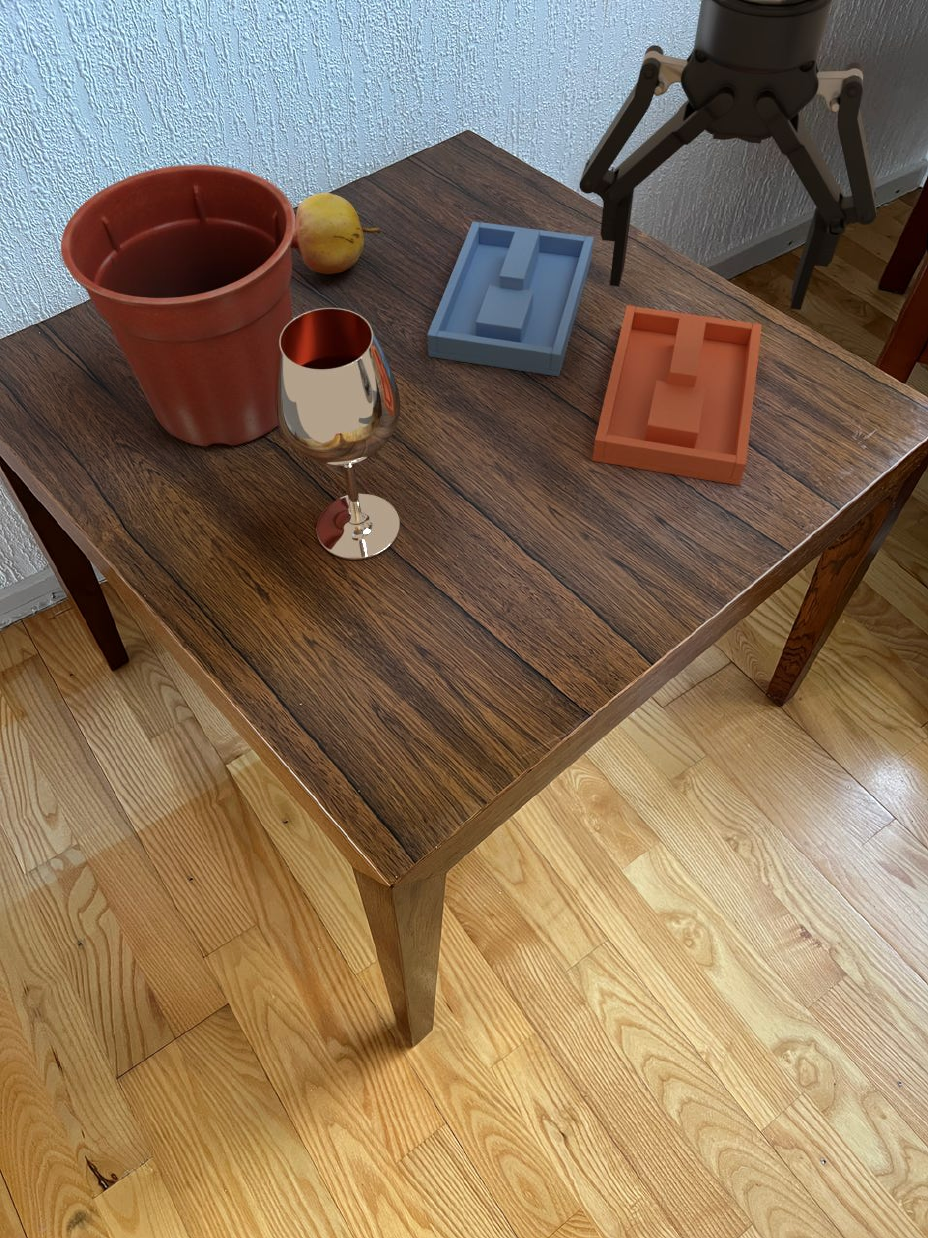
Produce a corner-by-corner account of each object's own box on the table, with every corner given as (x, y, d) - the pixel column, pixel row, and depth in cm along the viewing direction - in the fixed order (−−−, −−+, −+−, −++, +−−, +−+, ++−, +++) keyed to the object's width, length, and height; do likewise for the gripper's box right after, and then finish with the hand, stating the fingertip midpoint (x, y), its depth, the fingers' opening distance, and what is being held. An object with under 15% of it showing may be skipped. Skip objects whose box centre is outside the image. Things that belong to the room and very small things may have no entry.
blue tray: (591, 259, 91) (594, 236, 89) (558, 376, 82) (560, 354, 80) (472, 243, 93) (472, 220, 91) (428, 356, 84) (426, 334, 82)
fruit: (371, 176, 89) (263, 190, 88) (382, 200, 84) (268, 215, 83) (379, 249, 94) (277, 264, 93) (391, 276, 89) (283, 292, 87)
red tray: (755, 346, 84) (762, 323, 82) (739, 485, 75) (746, 464, 73) (623, 326, 85) (626, 304, 83) (592, 461, 77) (595, 439, 75)
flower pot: (330, 330, 86) (302, 158, 73) (320, 466, 77) (286, 298, 63) (146, 336, 86) (84, 166, 73) (115, 473, 77) (37, 306, 63)
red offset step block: (663, 343, 83) (669, 312, 81) (710, 349, 83) (717, 319, 80) (643, 442, 77) (649, 413, 74) (694, 450, 76) (701, 421, 73)
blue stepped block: (506, 256, 90) (506, 225, 88) (547, 261, 90) (549, 231, 87) (475, 340, 84) (475, 310, 81) (520, 347, 83) (521, 316, 81)
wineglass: (291, 506, 74) (242, 316, 60) (389, 474, 76) (366, 281, 61) (325, 584, 70) (281, 400, 55) (428, 548, 72) (413, 360, 57)
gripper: (548, -12, 56) (535, 295, 73) (1001, 24, 52) (874, 340, 69) (571, -66, 60) (554, 238, 77) (992, -36, 56) (874, 277, 73)
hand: (705, 287), depth 73 cm, fingers open, 13 cm apart
